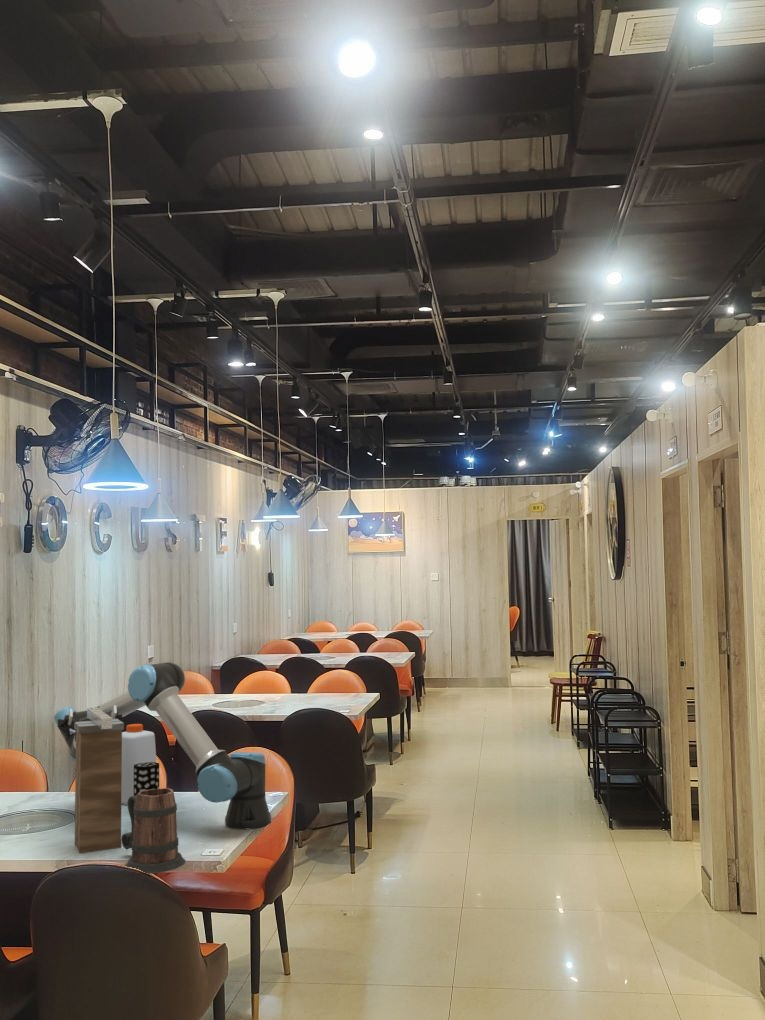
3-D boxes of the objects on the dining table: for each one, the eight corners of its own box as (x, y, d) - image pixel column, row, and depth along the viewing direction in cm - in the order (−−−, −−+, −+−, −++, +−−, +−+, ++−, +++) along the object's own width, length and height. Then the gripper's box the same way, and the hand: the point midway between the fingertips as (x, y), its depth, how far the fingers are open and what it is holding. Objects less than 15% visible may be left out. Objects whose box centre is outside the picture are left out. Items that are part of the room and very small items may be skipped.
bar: (87, 717, 279) (87, 708, 280) (96, 716, 281) (96, 707, 281) (101, 729, 251) (101, 718, 251) (112, 728, 252) (112, 718, 252)
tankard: (197, 862, 242) (197, 789, 244) (147, 877, 229) (147, 801, 231) (148, 848, 257) (149, 780, 259) (98, 862, 244) (99, 790, 246)
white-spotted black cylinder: (151, 821, 289) (151, 761, 291) (163, 825, 283) (164, 764, 285) (128, 826, 283) (129, 765, 285) (141, 831, 277) (141, 768, 279)
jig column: (72, 843, 265) (74, 721, 269) (115, 837, 270) (116, 718, 274) (77, 853, 253) (79, 726, 257) (122, 847, 259) (123, 723, 263)
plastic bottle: (163, 798, 323) (163, 723, 326) (129, 807, 311) (130, 728, 314) (138, 794, 332) (139, 721, 335) (105, 801, 320) (105, 726, 324)
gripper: (124, 744, 294) (134, 718, 279) (47, 751, 283) (52, 725, 268) (122, 723, 298) (132, 697, 283) (46, 729, 287) (51, 702, 272)
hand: (93, 710), depth 275 cm, fingers open, 13 cm apart
